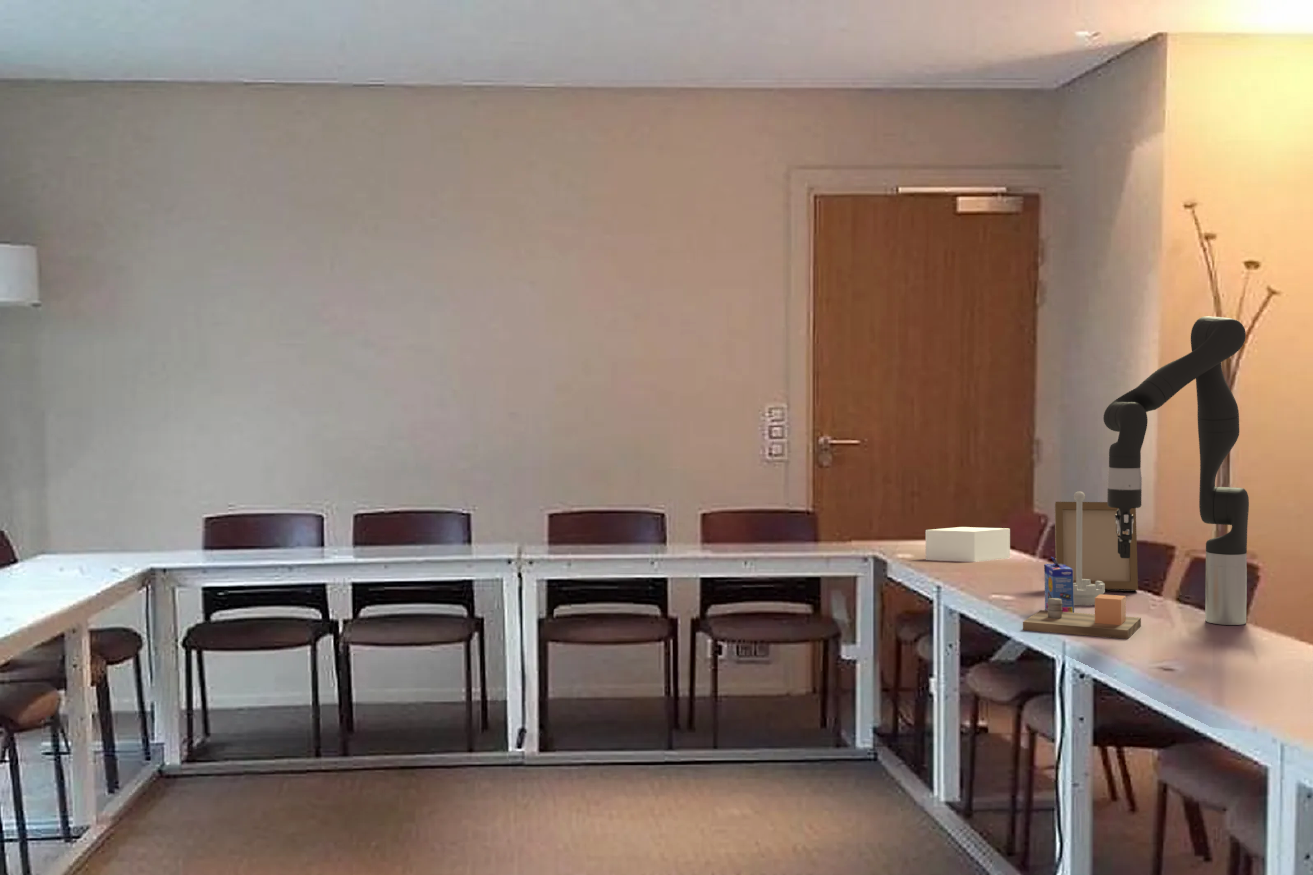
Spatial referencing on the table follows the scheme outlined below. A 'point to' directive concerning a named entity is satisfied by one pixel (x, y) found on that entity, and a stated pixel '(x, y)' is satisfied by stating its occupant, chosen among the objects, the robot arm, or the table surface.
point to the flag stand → (1082, 587)
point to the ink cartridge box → (1059, 585)
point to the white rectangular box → (968, 544)
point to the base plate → (1077, 623)
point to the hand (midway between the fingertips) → (1123, 556)
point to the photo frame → (1096, 545)
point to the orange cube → (1110, 609)
